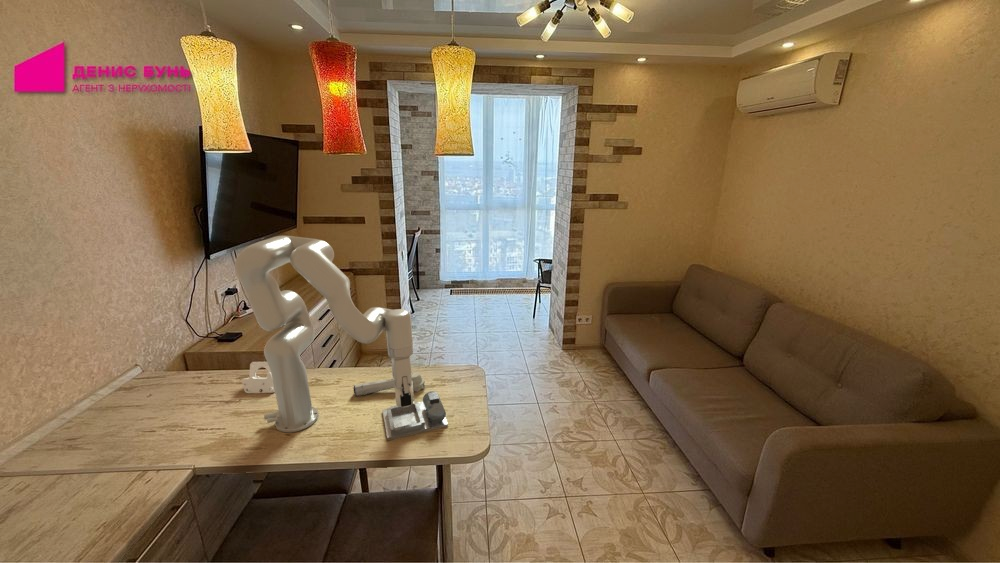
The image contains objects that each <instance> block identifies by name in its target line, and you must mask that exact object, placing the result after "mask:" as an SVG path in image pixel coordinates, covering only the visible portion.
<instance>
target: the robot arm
mask: <svg viewBox="0 0 1000 563" xmlns="http://www.w3.org/2000/svg"><path fill="white" fill-rule="evenodd" d="M334 258H335V252H334V249H333V247H332V246H331V244H330V243H328V242H326V241H325V240H322V239H317V238H310V237H303V236H302V237H301V236H294V235H277V236H273V237H271V238H267V239H264V240H260V241H258V242H256V243H253V244H250V245H249V246H247V247H245V248H243V249H242V250H241V251H240V252H239V254H238V255H237V256H236V259H235V262H234V271H235V273H236V276H237V278H238V280H239V282H240V283H241V286H242V287H243V289H244V291H245V294H246V296H247V300H248V302H249V304H250V307H251V310H252V312H253V315H254V317H255V320H256V322H257V323H258V325H259V327H260V328H262V329H263V330H264V331H266V332H275V331H277V332H276V333H275V334H273V335H272V336H271V337H270V338H269V339H268V340H267V341H266V343H265V345H264V349H263V356H264V358H265V361H266V362H268V365H269V367H270V370H271V374H272V379H273V384H274V389H275V392H274V393H275V400H276V404H277V409H278V410H275V411H273V412H267V413H264V414H263V419H264V420H265V421H267V423H268V424H269V423H274V425H275V428H276V429H277V430H278V431H279V432H281V433H282V432H283V433H295V432H299V431H303V430H305V429H307V428H308V427H311V426H312V425H313V424H314V423H315V422H316V421H317V420H318V418H319V411H318V409H317V408H316V407H313V406H312V399H311V398H312V397H311V392H310V386H309V380H308V379H309V378H308V373H307V368H306V365H305V364H304V362H303V360H301V354H302V353H303V352H304V351H305V350H306V349H307V348H308V347H309V346H310V345H311V344H312V343H313V342H314V340H315V336H316V332H315V329H314V324H313V323H312V320H311V316H310V314H309V311H308V308H307V306H306V302H305V301H304V300H303V298H302V297H301V296H300V295H299V294H298V292H295V291H293V290H289V289H286V290H285V289H284V290H281V289H280V286H279V283H278V281H277V280H276V279H275V277H274V276H273V275H271V273H270V272H271V271H273V270H275V269H277V268H279V267H282V266H284V265H286V264H288V263H290V265H291V266H292V267H293V269H294V270H295V271H296V272H297V273H298V274H299V275H300V276H302V277H303V278H304V279H305V280H306V281H307V282H308V283H309V284H310V285H311V286H312V287H313V288H314V289H316V291H317V292H319V293H320V294H321V295H322V296H323V297H324V299H325V300H326V301H327V304H328V307H329V310H330V311H331V314H332V316H333V318H334V320H335V322H336V323H337V325H339V327H341V329H342V330H343V331H344V332H346V333H347V334H348V335H349V336H350V337H351V338H353V339H354V340H355V341H357V342H359V343H361V344H371V343H373V342H375V341H376V340H377V339H378V338H379V336H380V335H381V334H382V333H383V332H385V333H386V334H385V336H386V344H387V345H386V346H387V347H386V348H387V355H388V357H389V358H390V359H391V368H392V379H393V380H394V384H395V387H396V389H399V388H400V390H401V395H400V400H401V407H404V406H409V405H411V404H412V403H411V393H410V387H409V386H411V385H412V377H411V374H412V367H411V366H412V365H411V364H412V363H411V356H412V355H413V354H414V345H413V344H414V343H413V329H412V317H411V314H410V312H409V310H406V309H404V308H397V309H396V308H395V309H390V308H384V307H378V306H374V307H370V308H368V309H367V310H366V311H365V312H364V313H362V312H361V311H360V310H359V309H358V308H357V307H356V306H355V304H354V302H353V300H352V297H351V281H350V278H349V277H348V276H347V275H346V274H345V273H344V272H343V271H342V270H341V269H340V268H338V266H336V264H334V263H333V261H334ZM279 329H280V330H279ZM402 384H403V386H401V385H402ZM402 388H404V391H403V390H402Z"/></svg>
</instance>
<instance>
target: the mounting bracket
mask: <svg viewBox="0 0 1000 563" xmlns="http://www.w3.org/2000/svg"><path fill="white" fill-rule="evenodd" d="M261 368H265V369H266V370H267V373H266V376H259V375H257V372H258V371H259V369H261ZM248 376H249V377H247V378H246V377H245V378H242V379H241V382H242V383H241V384H242V386H243V389H244V392H245V393H246V394H267V393H268V394H271V393H275V389H274V384H273V379H272V374H271V370H270V367H269V365H268V362H267V361H251V363H250V364H249V375H248ZM261 390H262V391H261Z"/></svg>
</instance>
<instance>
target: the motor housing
mask: <svg viewBox="0 0 1000 563" xmlns="http://www.w3.org/2000/svg"><path fill="white" fill-rule="evenodd" d="M446 414H447V412H446V409H445V408H444V406H443V403H442V400H441V398H440V396H439V394H438V392H437V391H433V390H432V391H429V392H426V393H425V394H424V395H423V397H422V401H416V402H415V401H414V403H413V404H412V405H411V406H408V407H399V406H397V405H396V404H395V405H392V406H390V407H387V408H384V409H382V415H383V423H384V427H385V435H386V438H387V441H392V440H396V439H400V438H404V437H409V436H413V435H418V434H422V433H425V432H430V431H433V430H434V431H435V430H438V429H442V428H446V427H447V428H448V427H449V424H448V420H447V418H446Z"/></svg>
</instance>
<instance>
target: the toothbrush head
mask: <svg viewBox="0 0 1000 563" xmlns="http://www.w3.org/2000/svg"><path fill="white" fill-rule="evenodd" d="M411 377H412V382H413V392H415V393H416V392H419V391H420V390H424V389H425V383H426V380H425V378H423V377H422V376H421V374H420V372H413V373H411ZM393 388H394V389H395V385H394V380H393V378H390V379H383V380H376V381H370V382H362V383H360V384H355V385H353V394H354V397H360V396H366V395H370V394H372V393H378V392H382V391H387V390H390V389H393Z"/></svg>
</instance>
